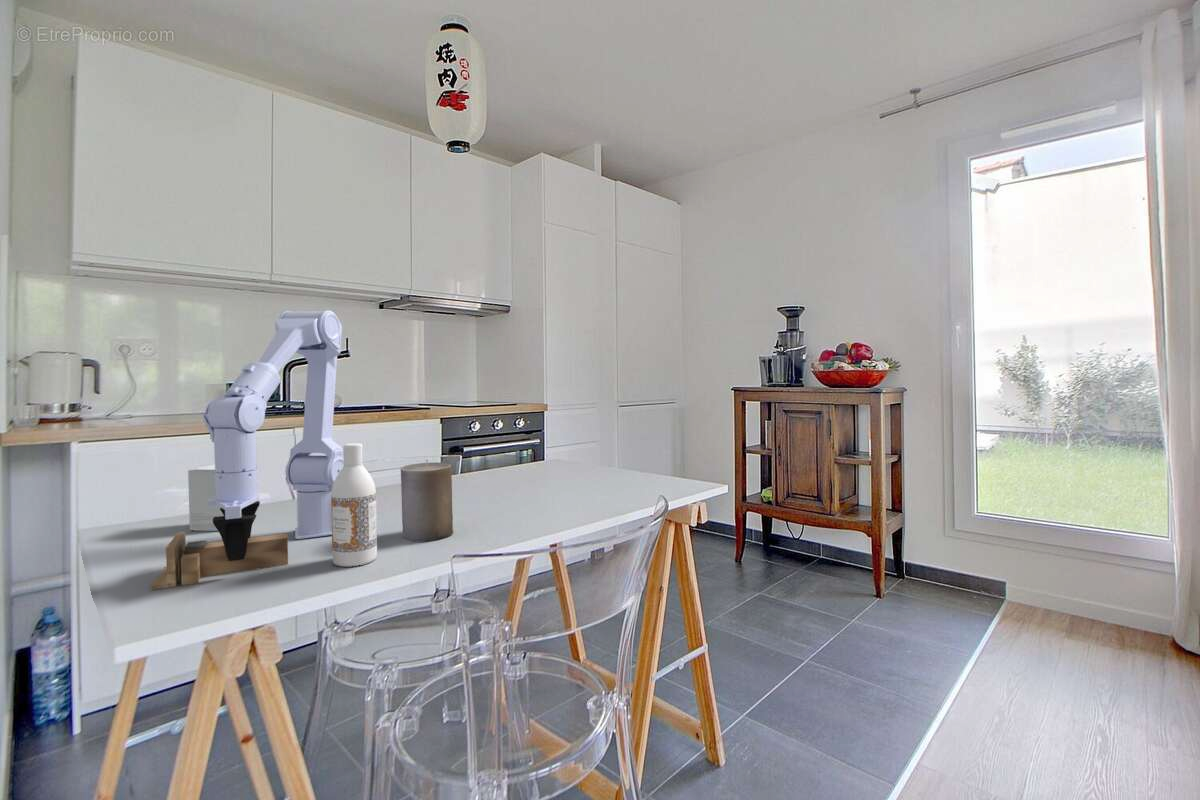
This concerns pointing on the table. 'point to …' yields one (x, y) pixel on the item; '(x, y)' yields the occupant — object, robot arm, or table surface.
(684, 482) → the table surface
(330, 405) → the robot arm
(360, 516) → the bath foam
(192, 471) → the supplement box
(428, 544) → the table surface
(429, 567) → the table surface
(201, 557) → the brown wooden block
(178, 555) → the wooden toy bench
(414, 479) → the pillar candle
